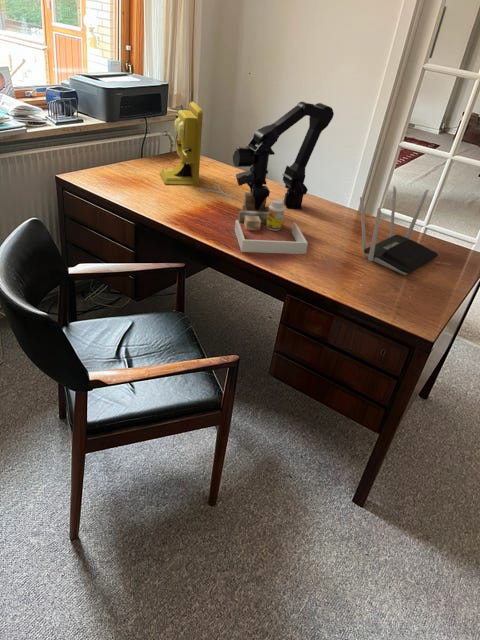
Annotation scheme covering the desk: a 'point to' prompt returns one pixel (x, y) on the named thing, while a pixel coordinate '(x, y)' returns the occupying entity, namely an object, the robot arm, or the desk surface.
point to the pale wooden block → (252, 222)
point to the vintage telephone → (186, 147)
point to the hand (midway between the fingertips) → (254, 205)
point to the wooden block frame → (250, 205)
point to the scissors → (219, 192)
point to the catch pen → (273, 243)
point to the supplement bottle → (275, 215)
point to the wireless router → (396, 244)
